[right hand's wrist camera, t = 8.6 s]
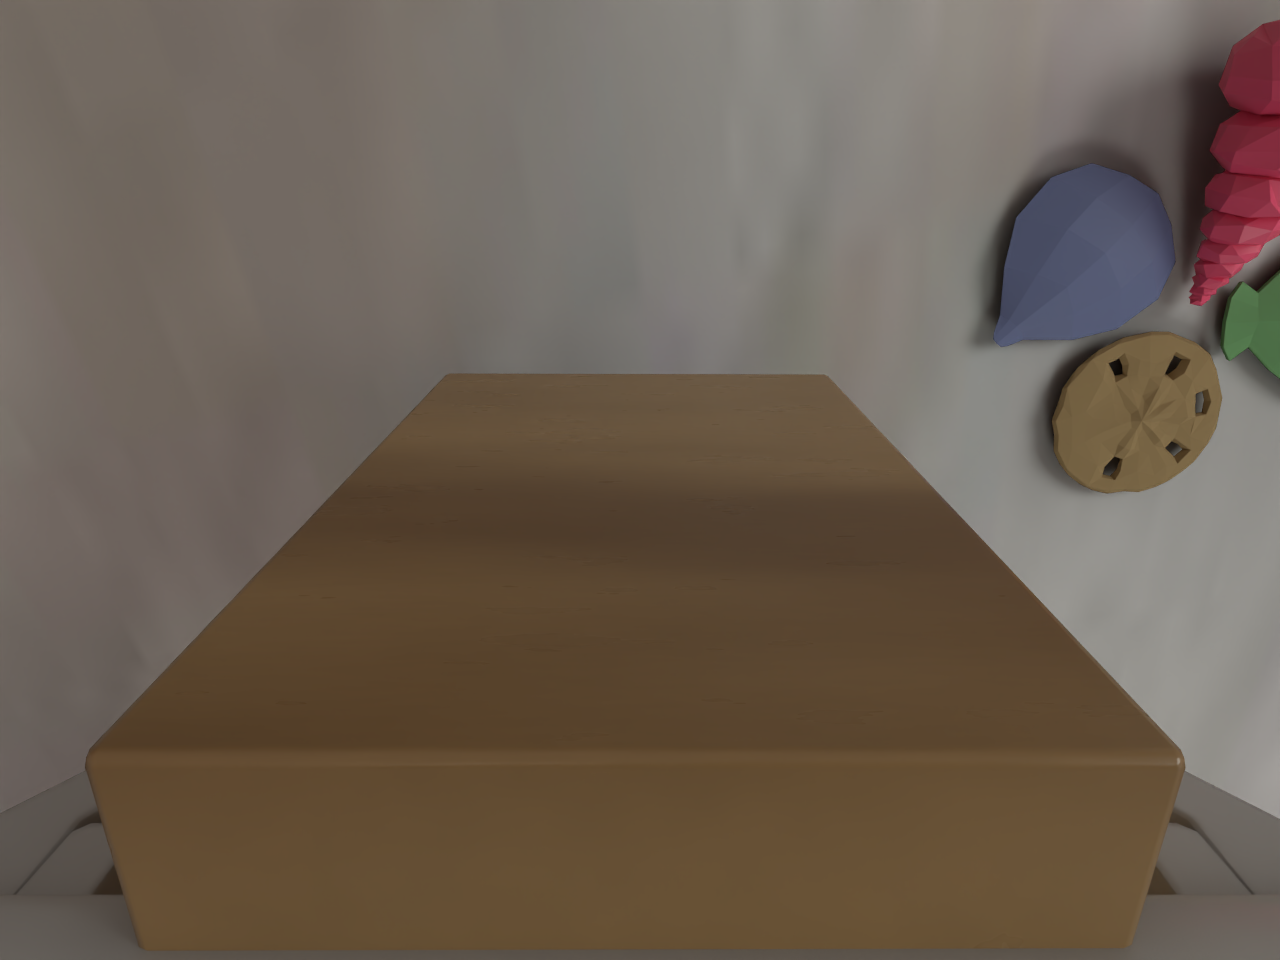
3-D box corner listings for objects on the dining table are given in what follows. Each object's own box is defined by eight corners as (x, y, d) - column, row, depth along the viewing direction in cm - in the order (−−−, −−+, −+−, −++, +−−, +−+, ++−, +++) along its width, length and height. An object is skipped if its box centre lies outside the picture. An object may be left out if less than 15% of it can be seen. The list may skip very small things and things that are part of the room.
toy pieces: (965, 89, 20) (1049, 67, 16) (1438, -39, 19) (1658, -97, 15) (1007, 518, 24) (1083, 589, 20) (1398, 431, 23) (1561, 486, 19)
